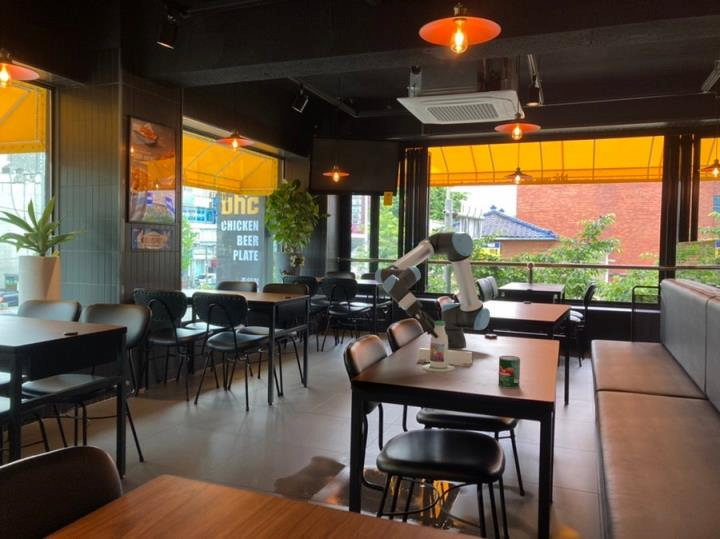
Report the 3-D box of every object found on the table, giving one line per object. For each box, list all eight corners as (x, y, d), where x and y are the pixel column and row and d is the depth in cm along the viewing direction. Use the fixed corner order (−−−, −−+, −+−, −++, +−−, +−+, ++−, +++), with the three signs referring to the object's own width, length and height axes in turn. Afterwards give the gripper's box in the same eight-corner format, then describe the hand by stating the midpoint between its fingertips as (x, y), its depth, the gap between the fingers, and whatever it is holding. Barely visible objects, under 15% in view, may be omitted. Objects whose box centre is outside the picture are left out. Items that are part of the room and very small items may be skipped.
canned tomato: (497, 387, 217) (497, 358, 216) (499, 382, 224) (500, 354, 224) (518, 389, 214) (519, 360, 214) (520, 384, 221) (521, 356, 221)
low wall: (417, 362, 262) (417, 349, 261) (421, 360, 267) (421, 347, 267) (469, 366, 253) (470, 353, 253) (472, 364, 259) (472, 351, 258)
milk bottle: (437, 364, 255) (438, 319, 254) (451, 367, 249) (452, 321, 248) (426, 366, 249) (427, 321, 248) (440, 369, 244) (441, 323, 243)
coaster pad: (416, 366, 252) (416, 365, 252) (442, 364, 258) (442, 362, 258) (434, 373, 240) (434, 371, 240) (461, 370, 246) (461, 368, 246)
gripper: (408, 307, 264) (440, 341, 261) (400, 313, 239) (435, 351, 237) (420, 296, 262) (452, 330, 259) (412, 301, 238) (448, 339, 235)
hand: (444, 340), depth 248 cm, fingers open, 13 cm apart
